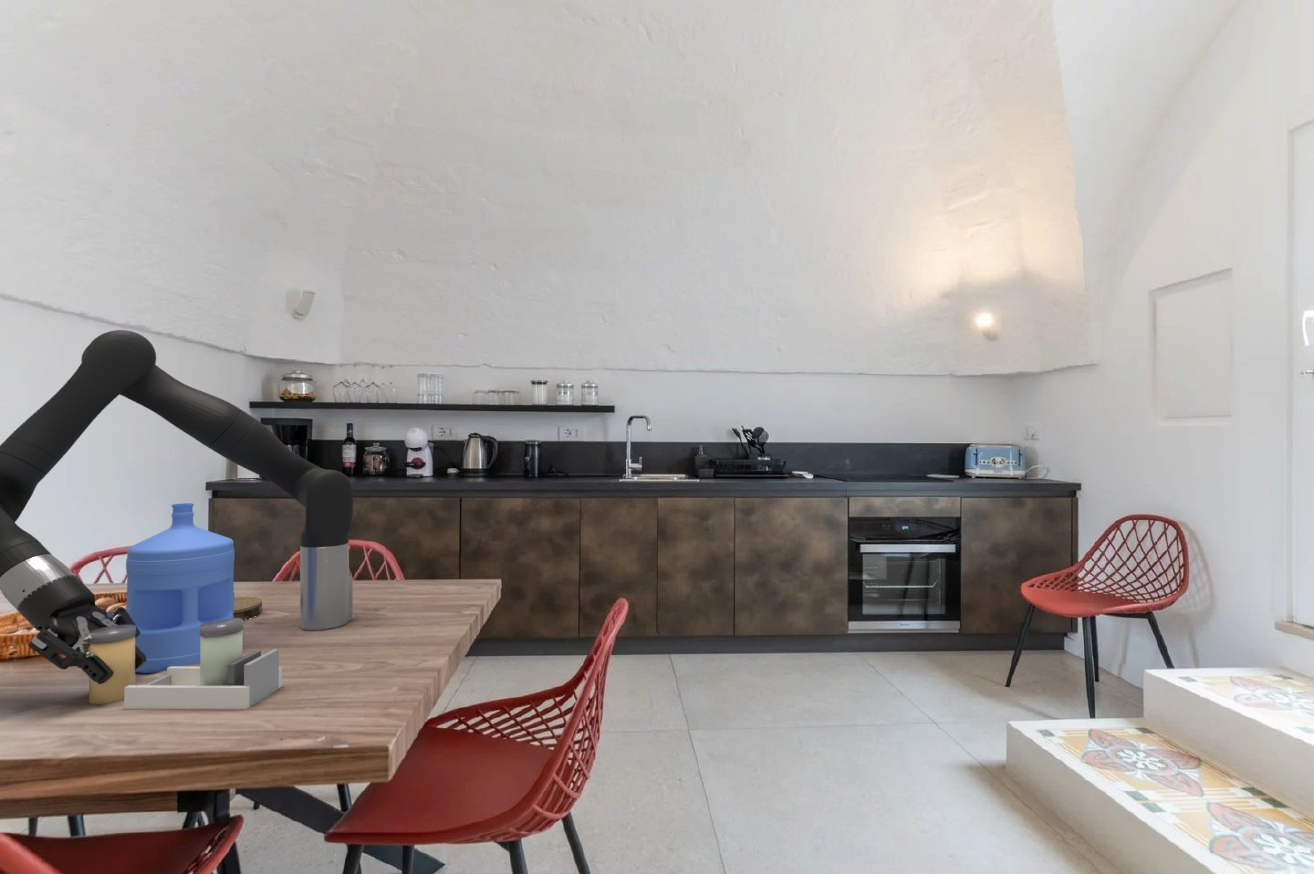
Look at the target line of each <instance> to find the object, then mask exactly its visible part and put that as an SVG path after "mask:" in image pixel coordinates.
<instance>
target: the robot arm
mask: <svg viewBox="0 0 1314 874" xmlns="http://www.w3.org/2000/svg"><path fill="white" fill-rule="evenodd" d="M156 362H157V353H156V350H155V348H154V345H153V344H152V343H151V342H150V340H148V338H146V337H145V336H143V335H142V334H140V333H138V332H135V331H133V330H125V329H117V330H110V331H107V332H103V333H101V334H100V335H97V337H95V338H94V339H93V340H92V341H91V342H90V344H88V345H87V346H86V348H85V349H84V351H82V354H81V362H80V364H79V366H78V367H77V369H76V370H75V372H74V373H73V374H72V376H71V377H70V378H68V380H67V381H66V382H65V383H64V384H63V386H62V387H61V388H60V389H58V391H57V392H56V393H55V394H54V395H52V396H51V397H50V398H49V399H48V400H47V401H46V402H45V403H44V404H43V405H42V406H40V408H38V409H37V410H36V411H35V412H34V413H33V414H31V415H30V416H29V417H28V418H26V419H25V421H24V422H23V423H22V424H20V425H19V427H17V428H16V429H15V430H13V432H12V433H11V434H9V436H8V437H7V438H6V439H5V440H4V441H3V442H2V443H1V444H0V592H1V594H2V595H3V596H4V598H5V599H6V601H7V602H8V603H9V604H10V605H11V606H12V607H13V608H15V609H16V611H18V613H19V614H20V615H21V616H22V617H23V618H24V619H25V620H26V621H27V622H28V623H29V624H30V625H31V626H32V627H33V628H34V629H35V630H36V631H38V633H37V634H36V635H35V636H34V637H33V638H32V639H31V640H30V641H29V642H28V643H27V646H28V648H30V649H31V650H33V651H34V652H36V653H37V654H39V656H41V657H43V658H45V659H46V660H47V661H48V662H50V663H52V664H53V665H55V666H56V668H57V667H58V668H59V669H61V670H66V669H68V668H69V667H74V668H76V669H81V670H82V672H84V673H85V674H86V675H87V676H88V678H89V677H90V678H91V679H92V680H93V681H95V682H97V683H98V684H103V683H105V682H107V681H108V680H109V679H110V678H111V677H112V676H113V674H114V672H113V671H112V670H111V669H110V668H109V667H108V666H107V664H106V663H105V662H104V661H103V660H102V659H101V658H99V657H98V656H94V651H93V649H92V647H91V645H90V640H89V632H91V631H93V630H96V629H99V628H104V627H109V626H115V625H135V623H134V622H133V620H132V619H131V617H130V616H129V614H128V613H127V611H126V607H123V606H119V607H117V608H116V609H115V610H113V611H112V610H111V611H106V610H104V609H102V608H100V607H99V606H97V605H96V601H95V600H96V595H95V594H94V593H93V592H92V590H91V589H89V588H88V586H86V584H84V582H83V581H82V580H80V578H79V577H77V575H76V574H75V573H74V572H73V571H72V570H71V569H70V568H69V567H68V566H67V565H65V563H63V562H62V561H61V560H59V559H58V558H56V557H55V555H53V554H52V553H51V552H50V551H49V550H48V549H47V548H46V547H45V546H44V545H43V544H42V543H41V541H39V540H38V539H37V538H36V537H35V536H34V535H32V534H31V533H29V532H27V531H26V530H24V529H23V528H21V527H20V526H19V525H18V524H17V523H16V522H17V520H18V519H19V518H20V516H21V515H22V513H23V511H24V510H25V508H26V506H27V504H28V503H29V501H30V499H31V497H32V496H33V494H34V492H35V490H36V488H37V486H38V484H39V483H40V482H41V481H42V480H43V479H44V478H45V477H46V476H47V475H48V474H49V473H50V472H51V471H52V469H54V467H55V466H56V465H57V464H58V463H59V462H60V461H61V460H62V458H64V456H65V455H66V454H67V453H68V452H69V450H70V449H72V447H73V446H74V444H76V442H77V441H78V440H79V438H80V437H81V436H82V434H84V432H85V431H86V430H87V429H88V428H89V427H90V426H91V424H92V423H93V421H94V420H95V419H96V418H97V417H98V416H99V415H100V414H101V413H102V412H103V411H104V409H106V408H107V406H108V405H110V404H111V403H112V402H113V401H114V400H115V399H116V398H118V396H122V397H124V398H126V399H128V400H131V401H132V402H134V403H137V404H138V405H141V406H142V407H144V408H146V409H148V410H149V411H151V412H154V414H156V415H158V416H160V417H161V418H163V419H164V420H166V421H167V422H168V423H170V424H172V425H173V426H174V427H176V428H177V429H179V430H180V431H182V432H183V433H185V434H187V436H190V438H193V439H194V440H196V441H197V442H199V443H201V444H202V445H203V446H205V447H207V448H208V449H210V450H211V451H213V452H215V453H217V454H218V455H220V456H221V457H223V458H225V459H227V460H229V461H231V462H233V463H234V464H237V465H238V466H240V467H242V468H243V469H246V470H248V471H250V472H252V473H254V474H257V475H258V476H261V477H262V478H264V479H266V480H268V481H270V482H272V483H273V484H274V485H276V486H277V487H278V488H280V489H281V490H283V492H285V493H287V494H288V495H289V496H290V497H292V498H293V499H295V500H296V501H297V502H298V503H299V504H301V505H302V507H304V508H305V521H304V522H305V525H304V526H303V527H304V528H303V531H301V533H300V539H299V540H300V541H299V542H300V546H299V547H300V548H299V549H300V551H299V552H300V553H299V554H300V555H299V559H300V561H299V562H300V563H299V564H300V567H299V569H300V572H299V576H300V577H299V578H300V581H299V582H300V583H299V584H300V588H299V589H300V590H299V594H300V595H299V596H300V598H299V601H300V604H299V606H300V607H299V610H300V612H299V617H300V618H299V621H300V622H299V623H300V625H299V626H300V627H299V628H300V629H302V630H307V631H316V630H317V631H320V630H328V629H334V628H338V627H341V626H344V625H346V624H348V623H349V622H350V621H352V620H353V614H354V613H353V603H354V601H353V598H354V597H353V596H354V595H353V594H354V593H353V589H354V588H353V582H354V580H353V576H351V575H349V574H350V573H349V572H350V566H349V565H350V555H349V554H350V548H349V547H350V543H349V542H350V534H351V531H352V527H353V515H354V514H353V512H354V491H353V490H354V489H353V485H352V482H351V480H350V479H349V477H348V476H347V475H346V474H345V473H343V472H341V471H338V470H335V469H326V468H322V467H320V466H318V465H316V464H315V463H312V462H310V461H308V460H307V459H305V458H304V457H301V456H300V455H298V454H297V453H295V452H294V451H292V450H291V449H289V447H288V446H286V445H285V444H284V443H283V442H282V441H281V440H280V439H279V438H278V436H276V435H275V433H274V432H272V431H271V430H270V429H269V428H268V427H266V426H265V425H264V424H263V423H262V422H261V421H259V420H258V419H257V418H255V417H253V416H252V415H250V414H249V413H247V412H246V411H244V410H242V409H241V408H239V407H237V405H235V404H233V403H231V402H229V401H227V400H224V399H222V398H220V397H218V396H215V395H212V394H210V393H207V392H204V391H203V390H200V389H196V388H194V387H192V386H190V385H188V384H185V383H183V382H181V381H179V380H178V379H176V378H175V377H173V376H172V375H171V374H169V373H168V372H166V371H165V370H163V369H162V368H160V367H159V366H158V365H157V364H156ZM135 626H136V625H135ZM139 635H140V631H139V629H138V628H137V626H136V635H135V639H136V638H137V637H138V636H139ZM59 652H60V653H61V654H62V655H63V656H64V657H63V656H61V655H60V654H59ZM93 656H94V657H93ZM146 660H147V659H146V656H145V654H144V653H143V652H142V651H140V649H139V648H138V647H137V646H136V645H135V670H136V669H138V668H140V667H141V666H142V665H143V664H144V663H145V662H146Z"/></svg>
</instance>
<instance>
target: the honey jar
mask: <svg viewBox="0 0 1314 874" xmlns="http://www.w3.org/2000/svg"><path fill="white" fill-rule="evenodd" d="M135 635H136V626H135V625H115V626H109V627H104V628H99V629H96V630H93V631H91V632H89V640H90V645H91V647H92V649H93V651H94V656H98V657H99V658H101V659H102V660H103V661H104V662H105V663H106V664H107V666H108V667H109V668H110V669H111V670H112V671H113V672H114V674H113V676H112V677H111V678H110V679H109V680H108V681H107V682H105V683H103V684H98V683H97V682H95V681H93V680H92V679H91V678H90V677H89V676H88V678H89V679H88V683H89V685H88V702H89V704H92V705H103V704H110V703H114V702H119V701H122V700H124V687H127V686H129V685H136V672H135ZM94 656H93V657H94Z"/></svg>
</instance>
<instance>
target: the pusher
mask: <svg viewBox="0 0 1314 874" xmlns="http://www.w3.org/2000/svg"><path fill="white" fill-rule="evenodd" d="M260 656H262V650H254V651H252V652H250V653H247V654H245V655H243V657H241V658H239V659H237V660H236V661H234V662H232V663H230V664H228V669H227V686H244V665H245V664H247V663H249V662H251V661H252V660H254V659H256V658H258V657H260Z"/></svg>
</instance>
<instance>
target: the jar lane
mask: <svg viewBox="0 0 1314 874" xmlns="http://www.w3.org/2000/svg"><path fill="white" fill-rule="evenodd" d="M279 657H280V650H279V649H277V648H276V649H272V650H270V651H268V652H266V653H263V654H261V656H260V657H258V658H256V659H254V660H252V661H251V662H249V663H247V664H245V665H244V686H200V666H188V665H184V666H171V667H169V668H167V670H166V674H164V675H163V676H161V677H159V678H157V679H154V680H152V681H149V682H148V683H145V684H143V685H139V684H138V685H136V684H135V685H129V686H127V687H124V699H123V700H124V701H123V702H124V703H123V706H124V707H123V708H124V709H125V710H130V709H131V710H247V709H249V708H250V707H252V706H253V705H255V704H257V703H258V702H260V701H261V700H262V699H264V698H266V697H267V696H269V695H271V694H272V693H273V692H275V691H278V689H280V688H281V687H283V667H282V666H280V661H279V660H280V659H279Z"/></svg>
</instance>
